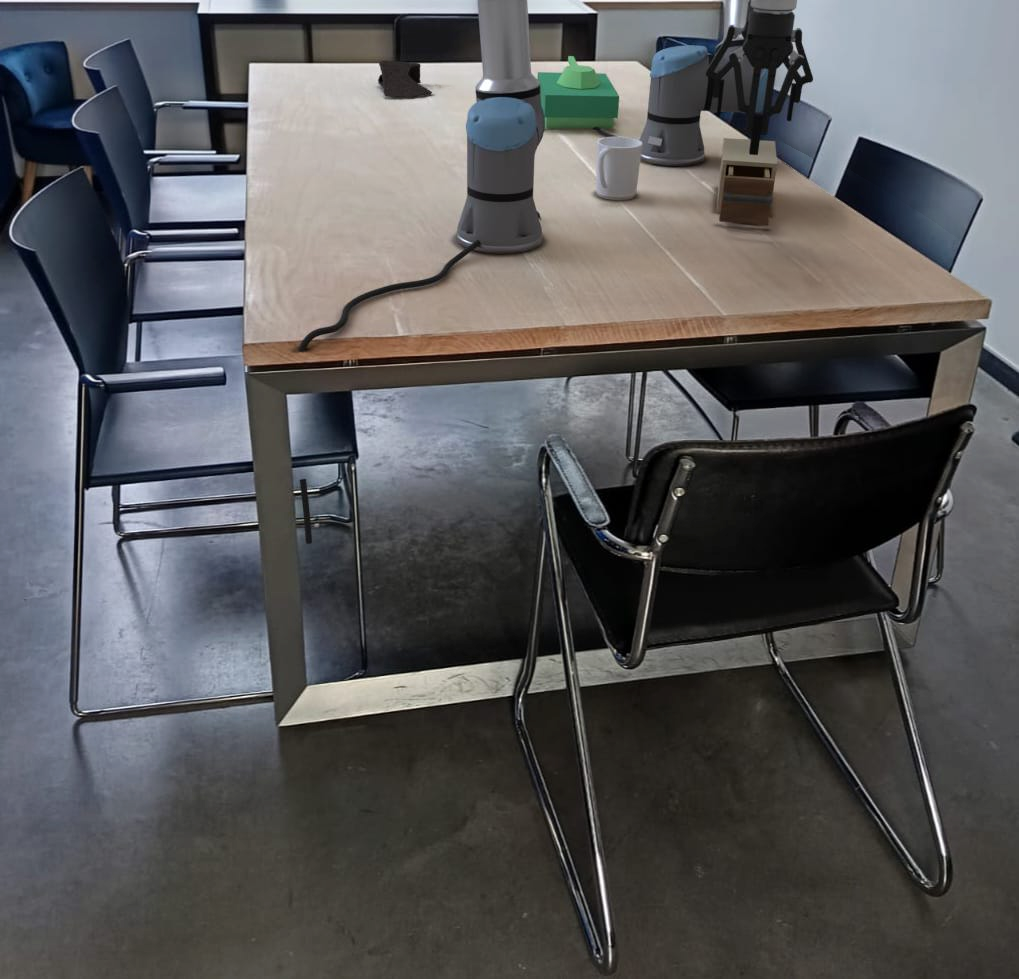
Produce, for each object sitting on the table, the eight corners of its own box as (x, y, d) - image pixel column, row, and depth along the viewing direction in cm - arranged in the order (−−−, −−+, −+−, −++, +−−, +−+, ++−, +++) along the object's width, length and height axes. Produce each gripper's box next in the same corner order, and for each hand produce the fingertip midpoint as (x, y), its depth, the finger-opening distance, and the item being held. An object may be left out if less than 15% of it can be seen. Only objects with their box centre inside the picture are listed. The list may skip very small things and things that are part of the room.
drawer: (768, 233, 199) (775, 188, 195) (718, 230, 200) (724, 184, 196) (766, 200, 217) (772, 157, 213) (720, 196, 218) (725, 154, 214)
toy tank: (603, 52, 288) (620, 79, 258) (599, 101, 294) (616, 133, 265) (536, 51, 287) (546, 78, 257) (534, 99, 294) (543, 131, 264)
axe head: (443, 87, 294) (392, 77, 287) (436, 115, 299) (385, 106, 292) (421, 62, 307) (371, 52, 300) (414, 89, 311) (365, 80, 304)
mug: (610, 185, 226) (613, 134, 221) (646, 193, 222) (651, 142, 216) (579, 196, 219) (581, 144, 214) (615, 205, 214) (619, 152, 209)
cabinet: (769, 216, 211) (777, 163, 206) (716, 212, 212) (722, 159, 207) (767, 191, 225) (775, 141, 220) (718, 187, 227) (724, 138, 221)
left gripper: (811, 9, 186) (789, 150, 198) (733, 5, 187) (717, 145, 200) (813, 15, 179) (791, 160, 192) (733, 11, 181) (716, 155, 193)
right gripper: (836, 0, 204) (817, 116, 216) (701, -7, 208) (690, 109, 219) (839, 5, 198) (819, 125, 209) (700, -1, 202) (688, 117, 213)
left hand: (753, 152), depth 196 cm, fingers closed
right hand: (753, 117), depth 214 cm, fingers open, 13 cm apart
